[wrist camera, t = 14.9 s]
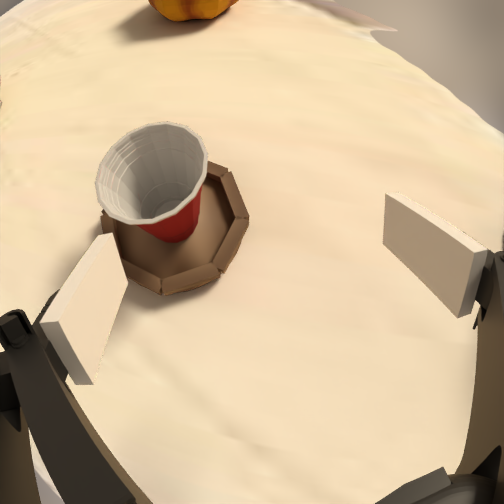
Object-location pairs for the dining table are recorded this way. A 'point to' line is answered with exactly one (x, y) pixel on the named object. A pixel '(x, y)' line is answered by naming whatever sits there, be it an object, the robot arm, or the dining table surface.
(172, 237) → the plastic cup
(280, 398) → the dining table surface
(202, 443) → the dining table surface
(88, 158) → the dining table surface
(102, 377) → the dining table surface
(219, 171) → the octagonal wooden tray
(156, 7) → the decorative pumpkin
